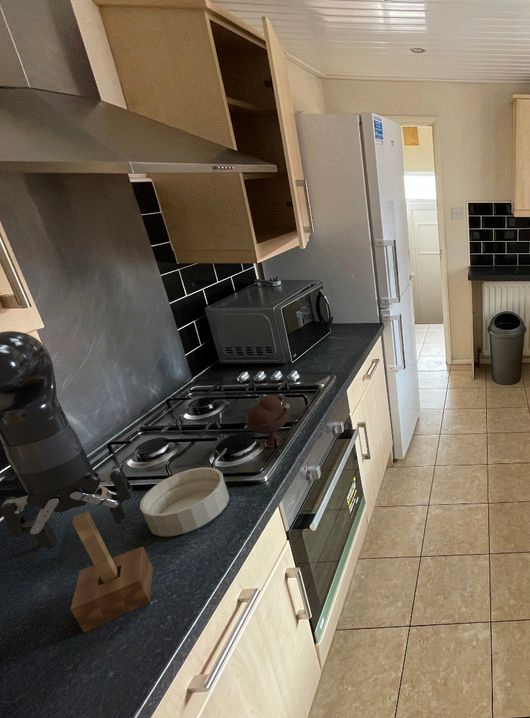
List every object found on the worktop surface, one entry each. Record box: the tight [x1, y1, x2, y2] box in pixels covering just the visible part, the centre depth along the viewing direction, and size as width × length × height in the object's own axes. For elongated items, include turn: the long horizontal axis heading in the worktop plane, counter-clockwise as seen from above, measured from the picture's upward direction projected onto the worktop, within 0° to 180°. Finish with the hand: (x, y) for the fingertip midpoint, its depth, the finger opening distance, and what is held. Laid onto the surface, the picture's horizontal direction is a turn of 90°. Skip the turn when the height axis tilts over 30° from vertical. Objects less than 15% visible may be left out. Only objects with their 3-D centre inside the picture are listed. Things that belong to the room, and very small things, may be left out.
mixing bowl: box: [139, 467, 230, 537], centre depth 96 cm, size 15×15×6 cm
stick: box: [71, 511, 120, 583], centre depth 74 cm, size 2×2×20 cm
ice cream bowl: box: [244, 395, 289, 446], centre depth 119 cm, size 11×11×15 cm
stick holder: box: [70, 545, 154, 633], centre depth 77 cm, size 9×9×6 cm
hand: (87, 532), depth 72 cm, fingers open, 8 cm apart
